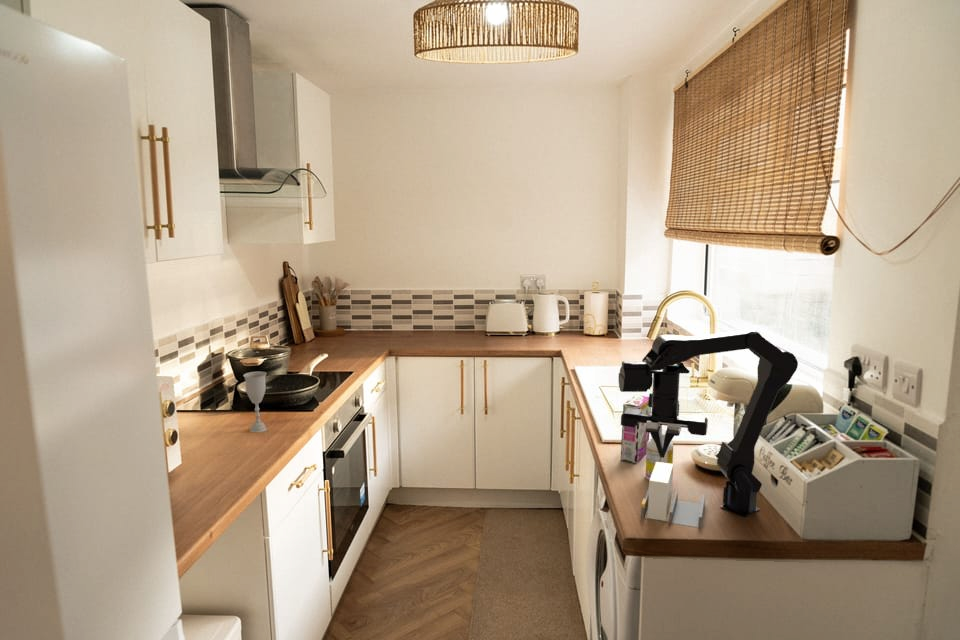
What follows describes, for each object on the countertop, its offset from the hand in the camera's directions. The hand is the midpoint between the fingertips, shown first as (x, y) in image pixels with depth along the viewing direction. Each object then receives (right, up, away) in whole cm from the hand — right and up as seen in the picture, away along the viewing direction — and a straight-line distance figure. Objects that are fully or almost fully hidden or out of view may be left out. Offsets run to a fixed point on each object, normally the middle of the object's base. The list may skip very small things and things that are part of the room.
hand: (662, 457), depth 157 cm
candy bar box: (+2, -7, +36) cm, 37 cm away
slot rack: (+3, -13, +1) cm, 13 cm away
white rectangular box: (0, -12, +2) cm, 13 cm away
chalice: (-112, -3, +58) cm, 126 cm away
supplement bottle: (+4, -10, +20) cm, 23 cm away
